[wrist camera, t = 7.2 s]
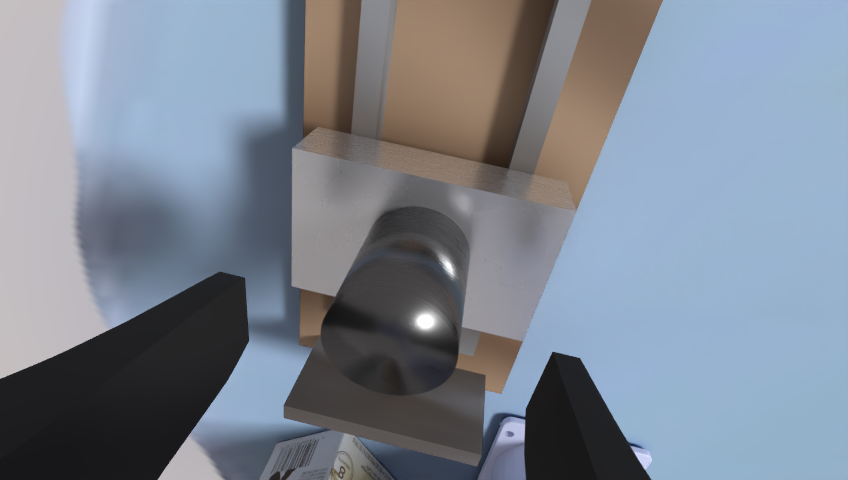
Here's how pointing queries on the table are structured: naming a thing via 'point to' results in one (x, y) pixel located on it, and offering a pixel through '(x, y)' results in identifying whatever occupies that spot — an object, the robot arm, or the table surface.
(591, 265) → the table surface
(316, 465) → the coffee box
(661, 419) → the table surface
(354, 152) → the press carriage
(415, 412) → the nut press
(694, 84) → the table surface
